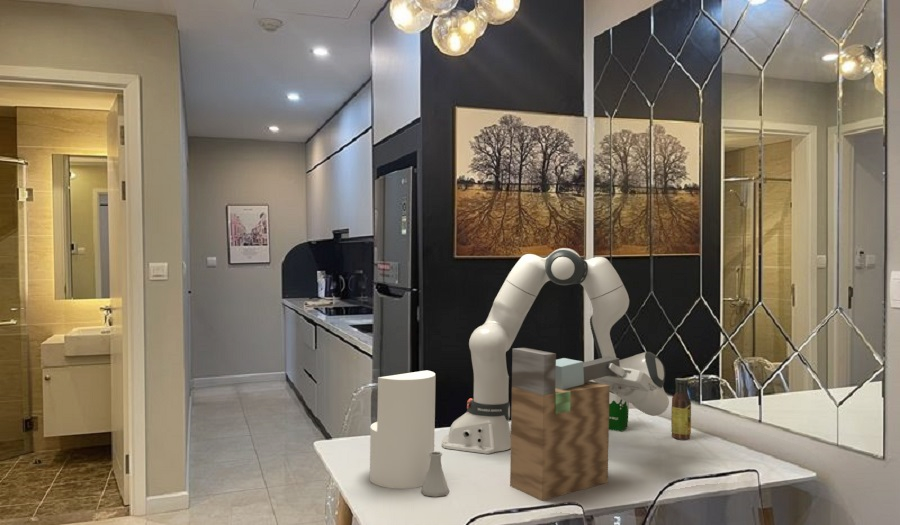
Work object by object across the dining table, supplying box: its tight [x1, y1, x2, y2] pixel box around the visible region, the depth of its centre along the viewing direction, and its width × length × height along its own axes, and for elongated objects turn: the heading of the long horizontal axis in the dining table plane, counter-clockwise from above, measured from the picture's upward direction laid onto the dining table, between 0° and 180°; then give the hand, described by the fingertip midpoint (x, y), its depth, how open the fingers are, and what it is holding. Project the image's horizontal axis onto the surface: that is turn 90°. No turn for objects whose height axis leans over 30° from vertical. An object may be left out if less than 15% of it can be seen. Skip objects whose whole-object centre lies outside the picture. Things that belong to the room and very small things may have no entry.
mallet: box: [555, 357, 620, 390], centre depth 176 cm, size 24×7×6 cm, turn 125°
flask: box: [420, 450, 450, 498], centre depth 164 cm, size 7×7×10 cm
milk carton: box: [609, 392, 630, 432], centre depth 230 cm, size 9×9×20 cm
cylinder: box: [369, 370, 436, 490], centre depth 175 cm, size 17×17×28 cm
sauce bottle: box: [670, 377, 692, 441], centre depth 219 cm, size 7×6×20 cm
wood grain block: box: [509, 347, 610, 501], centre depth 171 cm, size 24×13×36 cm, turn 125°
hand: (601, 364), depth 180 cm, fingers closed on mallet, 4 cm apart
